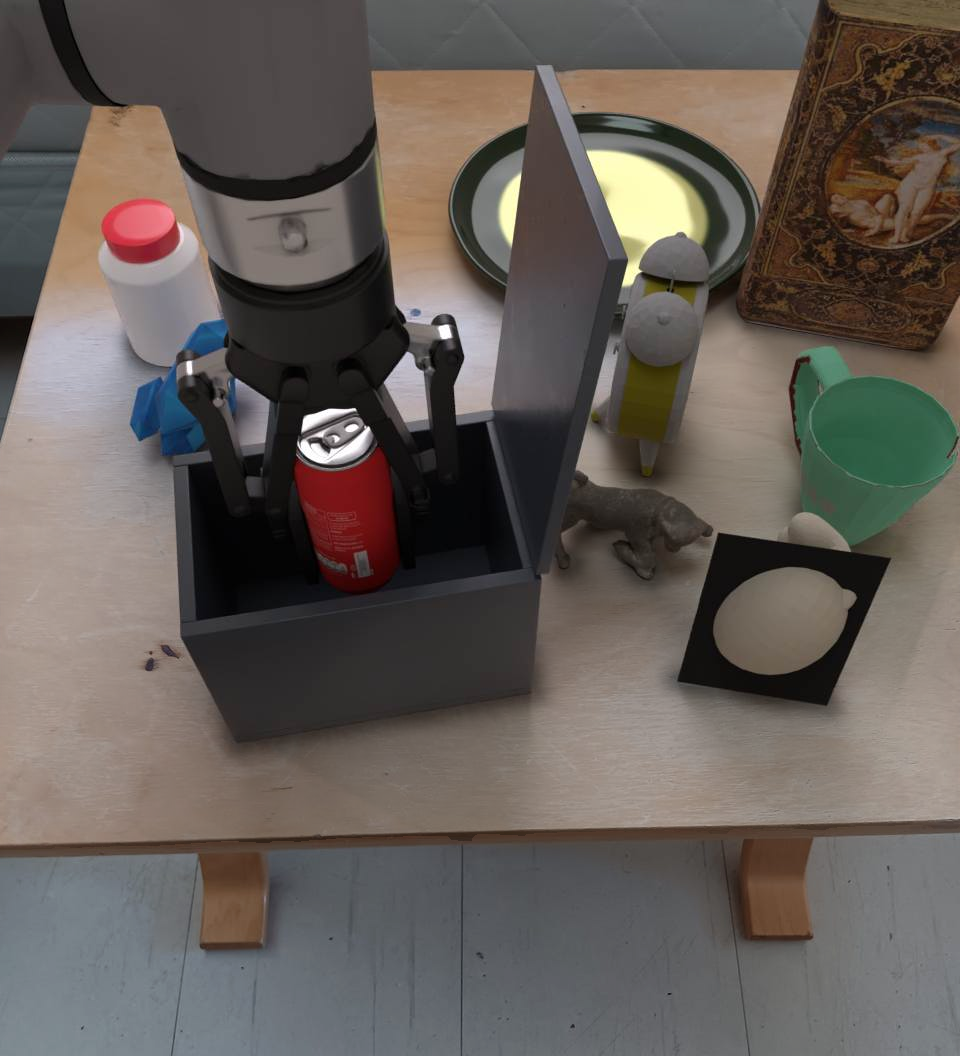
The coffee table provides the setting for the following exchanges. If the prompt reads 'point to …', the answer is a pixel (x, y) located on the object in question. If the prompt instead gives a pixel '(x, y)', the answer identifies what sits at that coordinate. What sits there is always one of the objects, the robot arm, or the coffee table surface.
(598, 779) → the coffee table surface
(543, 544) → the dark grey box lid
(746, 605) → the decorative object
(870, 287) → the book
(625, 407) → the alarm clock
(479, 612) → the dark grey storage box
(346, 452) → the beverage can
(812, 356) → the mug
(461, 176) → the plate
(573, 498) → the dog figurine
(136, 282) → the pill bottle
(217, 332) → the crystal
